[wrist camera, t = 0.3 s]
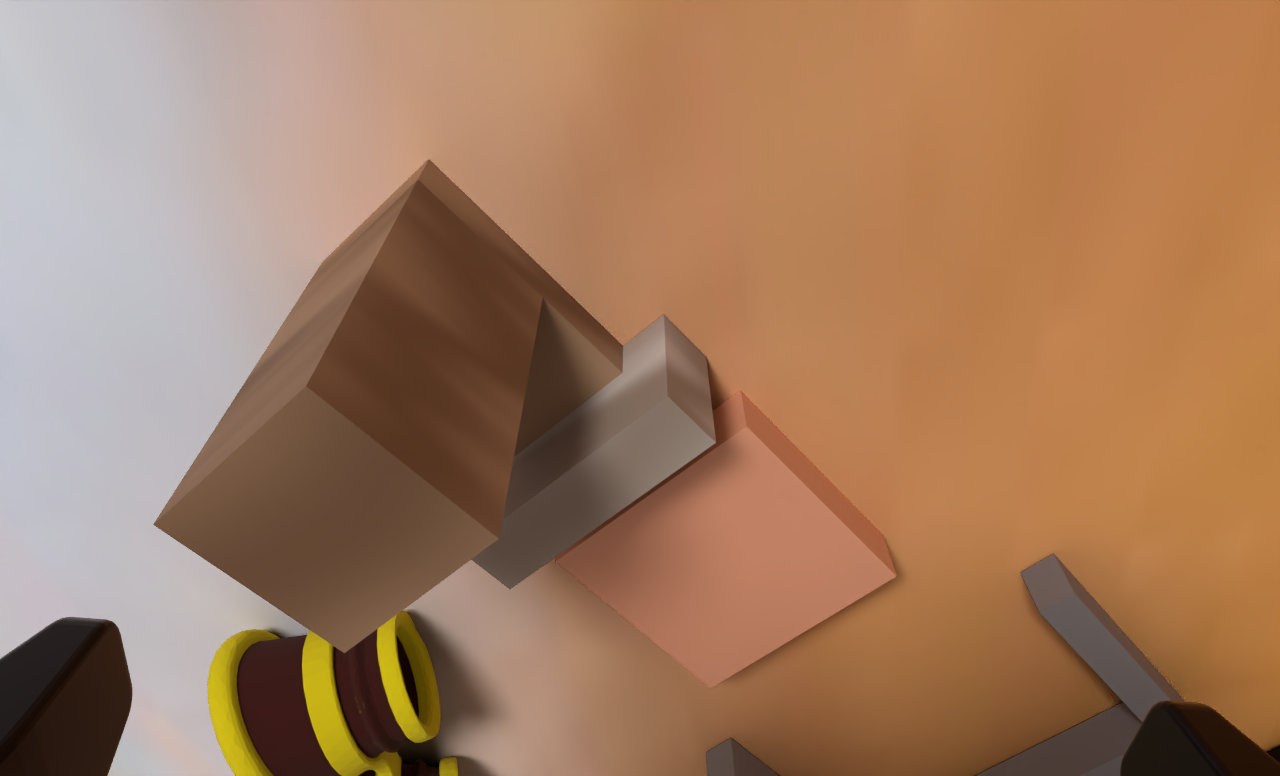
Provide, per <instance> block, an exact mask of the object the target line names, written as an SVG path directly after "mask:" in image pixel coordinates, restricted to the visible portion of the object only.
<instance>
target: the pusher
mask: <svg viewBox="0 0 1280 776" xmlns="http://www.w3.org/2000/svg"><path fill="white" fill-rule="evenodd" d="M715 443H716V438H715V429H714V421H713V412H712V403H711V395H710V386H709V377H708V369H707V360H706V356H705V355H704V354H703V353H702V352H701V351H700V350H699V349H698V348H697V347H696V346H695V345H694V344H693V343H692V342H691V341H690V340H689V339H688V338H687V337H686V336H685V335H684V334H683V333H682V332H681V331H680V330H679V329H678V328H677V327H676V326H675V325H674V324H673V323H672V322H671V321H670V320H669V319H668V318H667V317H666V316H665V315H664V314H663V315H662V316H661V317H660V318H658V319H657V320H656V321H655V322H653V323H652V324H651V325H649V326H648V327H647V328H646V329H644V330H643V331H642V332H641V333H639V334H638V335H637V336H636V337H634V338H633V339H632V340H630V341H629V342H628V343H627V344H625V345H624V346H622V345H621V344H620V343H619V342H618V341H617V340H616V339H615V338H614V337H613V336H612V335H611V334H610V333H609V332H608V331H607V330H606V329H605V328H604V327H603V326H602V325H601V324H600V323H599V322H598V321H596V320H595V319H594V318H593V317H592V316H591V315H590V314H589V313H588V312H587V311H586V310H585V309H584V308H583V307H582V306H581V305H580V304H579V303H578V302H577V301H576V300H575V299H574V298H573V297H572V296H571V295H569V294H568V293H567V292H566V291H565V290H564V289H563V288H562V287H561V286H560V285H559V284H558V283H557V282H556V281H555V280H554V279H553V278H552V277H551V276H550V275H549V274H548V273H547V272H546V271H545V270H544V269H542V268H541V267H540V266H539V265H538V264H537V263H536V262H535V261H534V260H533V259H532V258H531V257H530V256H529V255H528V254H527V253H526V252H525V251H524V250H523V249H522V248H521V247H520V246H519V245H518V244H516V243H515V242H514V241H513V240H512V239H511V238H510V237H509V236H508V235H507V234H506V233H505V232H504V231H503V230H502V229H501V228H500V227H499V226H498V225H497V224H496V223H495V222H494V221H493V220H492V219H491V218H489V217H488V216H487V215H486V214H485V213H484V212H483V211H482V210H481V209H480V208H479V207H478V206H477V205H476V204H475V203H474V202H473V201H472V200H471V199H470V198H469V197H468V196H467V195H466V194H465V193H464V192H462V191H461V190H460V189H459V188H458V187H457V186H456V185H455V184H454V183H453V182H452V181H451V180H450V179H449V178H448V177H447V176H446V175H445V174H444V173H443V172H442V171H441V170H440V169H439V168H438V167H436V166H435V165H434V164H433V163H432V162H431V161H430V160H428V161H426V162H425V163H424V164H423V165H422V166H421V167H420V168H419V169H418V170H417V171H416V172H415V173H414V174H413V175H412V176H411V177H410V178H409V179H408V180H407V181H406V182H405V183H404V184H403V185H402V186H401V187H400V188H399V189H398V190H397V191H396V192H394V193H393V194H392V195H391V196H390V197H389V198H388V199H387V200H386V201H385V202H384V203H383V204H382V205H381V206H380V207H379V208H378V209H377V210H376V211H375V212H374V213H373V214H372V215H371V216H370V217H369V218H368V219H367V220H366V221H365V222H363V223H362V224H361V225H360V226H359V227H358V228H357V229H356V230H355V231H354V232H353V233H352V234H351V235H350V236H349V237H348V238H347V239H346V240H345V241H344V242H343V243H342V244H341V245H340V246H339V247H338V248H337V249H336V250H335V251H334V252H333V253H331V254H330V255H329V256H328V257H327V258H326V259H325V260H324V261H323V262H322V264H321V265H320V267H319V268H318V270H317V272H316V273H315V275H314V276H313V278H312V279H311V281H310V282H309V284H308V285H307V287H306V289H305V290H304V292H303V293H302V295H301V296H300V298H299V299H298V301H297V303H296V304H295V306H294V307H293V309H292V310H291V312H290V313H289V315H288V316H287V318H286V320H285V321H284V323H283V324H282V326H281V327H280V329H279V330H278V332H277V334H276V335H275V337H274V338H273V340H272V341H271V343H270V344H269V346H268V348H267V349H266V351H265V352H264V354H263V355H262V357H261V358H260V360H259V361H258V363H257V365H256V366H255V368H254V369H253V371H252V372H251V374H250V375H249V377H248V379H247V380H246V382H245V383H244V385H243V386H242V388H241V389H240V391H239V393H238V394H237V396H236V397H235V399H234V400H233V402H232V403H231V405H230V406H229V408H228V410H227V411H226V413H225V414H224V416H223V417H222V419H221V420H220V422H219V424H218V425H217V427H216V428H215V430H214V431H213V433H212V434H211V436H210V437H209V439H208V441H207V442H206V444H205V445H204V447H203V448H202V450H201V451H200V453H199V455H198V456H197V458H196V459H195V461H194V462H193V464H192V465H191V467H190V469H189V470H188V472H187V473H186V475H185V476H184V478H183V479H182V481H181V482H180V484H179V486H178V487H177V489H176V490H175V492H174V493H173V495H172V496H171V498H170V500H169V501H168V503H167V504H166V506H165V507H164V509H163V510H162V512H161V513H160V515H159V517H158V518H157V520H156V521H155V523H154V524H153V525H155V526H156V527H158V528H159V529H161V530H162V531H164V532H165V533H167V534H168V535H170V536H171V537H172V538H174V539H175V540H177V541H178V542H180V543H181V544H183V545H184V546H186V547H187V548H189V549H190V550H192V551H193V552H195V553H196V554H198V555H199V556H201V557H202V558H204V559H205V560H207V561H208V562H210V563H211V564H213V565H214V566H216V567H217V568H219V569H220V570H222V571H223V572H224V573H226V574H227V575H229V576H230V577H232V578H233V579H235V580H236V581H238V582H239V583H241V584H242V585H244V586H245V587H247V588H248V589H250V590H251V591H253V592H254V593H256V594H257V595H259V596H260V597H262V598H263V599H265V600H266V601H268V602H269V603H271V604H272V605H274V606H275V607H276V608H278V609H279V610H281V611H282V612H284V613H285V614H287V615H288V616H290V617H291V618H293V619H294V620H296V621H297V622H299V623H300V624H302V625H303V626H305V627H306V628H308V629H309V630H311V631H312V632H314V633H315V634H317V635H318V636H320V637H321V638H323V639H324V640H325V641H327V642H328V643H330V644H331V645H333V646H334V647H336V648H337V649H339V650H340V651H342V652H343V653H345V652H347V651H348V650H349V649H351V648H352V647H354V646H355V645H356V644H358V643H359V642H360V641H362V640H363V639H364V638H366V637H367V636H368V635H370V634H371V633H372V632H374V631H375V630H376V629H378V628H379V627H380V626H382V625H383V624H385V623H386V622H387V621H389V620H390V619H391V618H393V617H394V616H395V615H397V614H398V613H399V612H401V611H402V610H403V609H405V608H406V607H407V606H409V605H410V604H412V603H413V602H414V601H416V600H417V599H418V598H420V597H421V596H422V595H424V594H425V593H426V592H428V591H429V590H430V589H432V588H433V587H434V586H436V585H437V584H439V583H440V582H441V581H443V580H444V579H445V578H447V577H448V576H449V575H451V574H452V573H453V572H455V571H456V570H457V569H459V568H460V567H461V566H463V565H464V564H465V563H467V562H468V561H470V560H473V561H474V562H475V563H476V564H478V565H479V566H480V567H482V568H483V569H484V570H486V571H487V572H488V573H489V574H491V575H492V576H493V577H495V578H496V579H497V580H499V581H500V582H501V583H502V584H504V585H505V586H506V587H508V588H509V589H511V588H513V587H514V586H515V585H517V584H518V583H520V582H521V581H522V580H524V579H525V578H527V577H528V576H529V575H531V574H532V573H534V572H535V571H536V570H538V569H539V568H541V567H542V566H543V565H545V564H546V563H548V562H549V561H550V560H552V559H553V558H555V557H556V556H558V555H559V554H560V553H562V552H563V551H565V550H566V549H567V548H569V547H570V546H572V545H573V544H574V543H576V542H577V541H579V540H580V539H581V538H583V537H584V536H586V535H587V534H588V533H590V532H591V531H593V530H594V529H595V528H597V527H598V526H600V525H601V524H602V523H604V522H605V521H607V520H608V519H609V518H611V517H612V516H614V515H615V514H617V513H618V512H619V511H621V510H622V509H624V508H625V507H626V506H628V505H629V504H631V503H632V502H633V501H635V500H636V499H638V498H639V497H640V496H642V495H643V494H645V493H646V492H647V491H649V490H650V489H652V488H653V487H654V486H656V485H657V484H659V483H660V482H661V481H663V480H664V479H666V478H667V477H669V476H670V475H671V474H673V473H674V472H676V471H677V470H678V469H680V468H681V467H683V466H684V465H685V464H687V463H688V462H690V461H691V460H692V459H694V458H695V457H697V456H698V455H699V454H701V453H702V452H704V451H705V450H706V449H708V448H709V447H711V446H712V445H713V444H715Z"/></svg>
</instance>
